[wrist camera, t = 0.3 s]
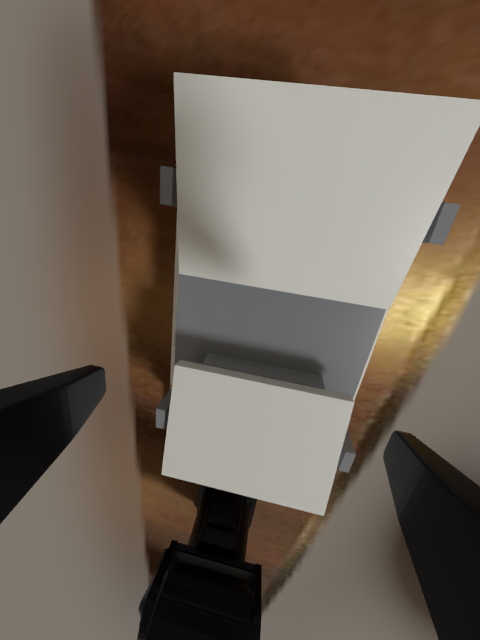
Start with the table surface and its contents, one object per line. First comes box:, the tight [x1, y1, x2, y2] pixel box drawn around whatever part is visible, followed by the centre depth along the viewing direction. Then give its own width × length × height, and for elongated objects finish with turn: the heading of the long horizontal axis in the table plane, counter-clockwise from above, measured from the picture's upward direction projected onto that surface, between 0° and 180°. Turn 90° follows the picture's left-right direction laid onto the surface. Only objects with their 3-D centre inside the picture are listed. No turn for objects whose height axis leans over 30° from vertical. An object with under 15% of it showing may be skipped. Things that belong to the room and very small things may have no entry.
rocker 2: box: [161, 360, 354, 516], centre depth 17 cm, size 8×11×2 cm
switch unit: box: [156, 166, 460, 472], centre depth 17 cm, size 26×16×7 cm, turn 172°
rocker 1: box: [174, 72, 480, 310], centre depth 12 cm, size 8×11×2 cm
